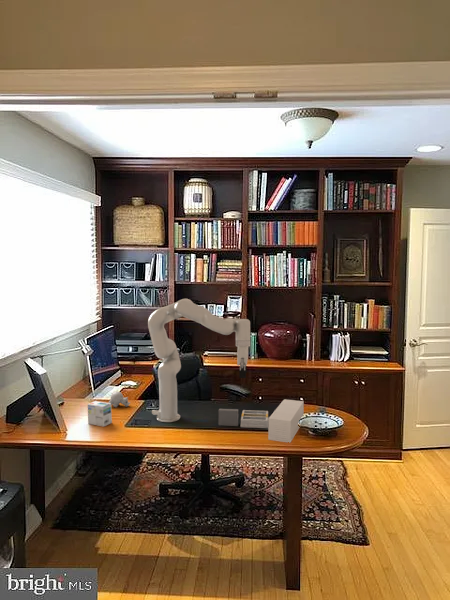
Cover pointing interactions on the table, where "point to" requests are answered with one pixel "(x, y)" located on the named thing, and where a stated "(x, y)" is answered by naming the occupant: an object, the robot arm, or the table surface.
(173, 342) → the robot arm
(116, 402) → the round bodied animal figurine
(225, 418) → the panel
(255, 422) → the rack
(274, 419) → the grey rectangular block
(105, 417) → the light bulb box
